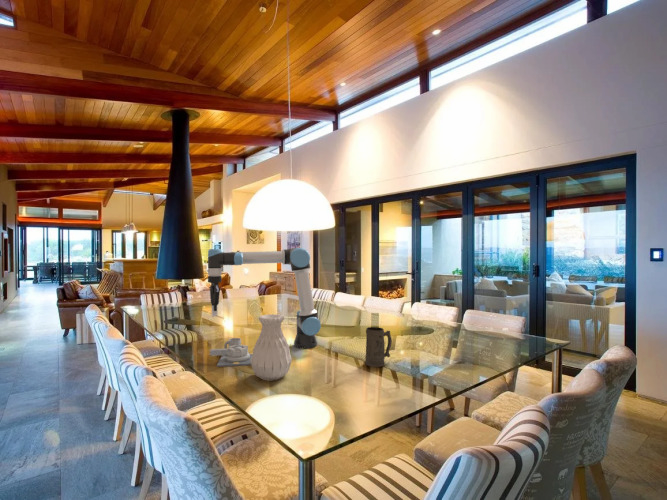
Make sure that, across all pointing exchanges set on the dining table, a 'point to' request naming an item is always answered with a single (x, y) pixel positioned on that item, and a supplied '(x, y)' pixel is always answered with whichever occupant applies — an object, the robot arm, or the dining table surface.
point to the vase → (271, 350)
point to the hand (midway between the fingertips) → (214, 316)
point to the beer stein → (376, 346)
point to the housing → (235, 360)
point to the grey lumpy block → (230, 351)
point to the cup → (233, 342)
